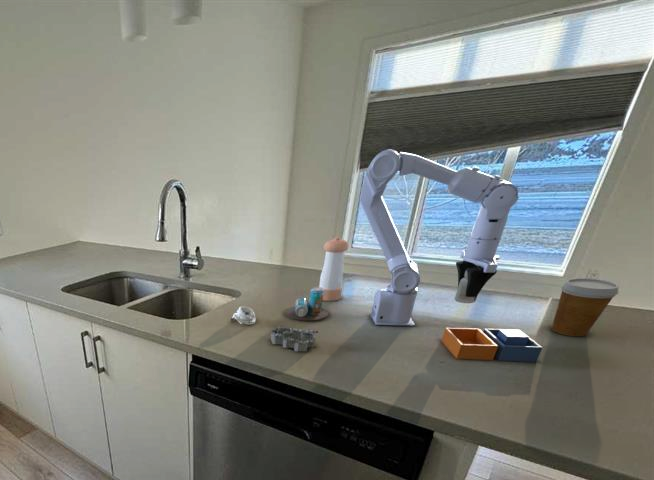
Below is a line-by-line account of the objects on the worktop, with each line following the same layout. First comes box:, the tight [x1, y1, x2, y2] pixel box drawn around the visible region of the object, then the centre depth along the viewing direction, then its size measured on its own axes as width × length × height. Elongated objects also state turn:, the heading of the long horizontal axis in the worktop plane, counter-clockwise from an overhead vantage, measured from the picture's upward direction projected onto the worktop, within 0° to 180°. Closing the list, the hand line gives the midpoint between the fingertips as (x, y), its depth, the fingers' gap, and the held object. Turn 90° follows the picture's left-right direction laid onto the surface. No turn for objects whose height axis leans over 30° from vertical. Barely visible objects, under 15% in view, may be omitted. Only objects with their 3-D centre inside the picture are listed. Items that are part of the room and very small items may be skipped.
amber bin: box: [441, 327, 498, 361], centre depth 95 cm, size 7×10×4 cm
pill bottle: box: [454, 270, 479, 304], centre depth 101 cm, size 4×4×8 cm
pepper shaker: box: [317, 236, 350, 302], centre depth 129 cm, size 7×7×19 cm
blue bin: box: [482, 328, 543, 363], centre depth 92 cm, size 7×10×4 cm
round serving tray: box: [285, 286, 329, 322], centre depth 121 cm, size 12×12×8 cm
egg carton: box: [269, 325, 319, 353], centre depth 105 cm, size 11×8×4 cm
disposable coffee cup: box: [551, 277, 620, 337], centre depth 96 cm, size 10×10×12 cm
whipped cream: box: [230, 305, 256, 326], centre depth 121 cm, size 8×7×5 cm
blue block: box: [496, 329, 530, 346], centre depth 92 cm, size 4×4×4 cm
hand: (466, 293), depth 102 cm, fingers closed on pill bottle, 4 cm apart
